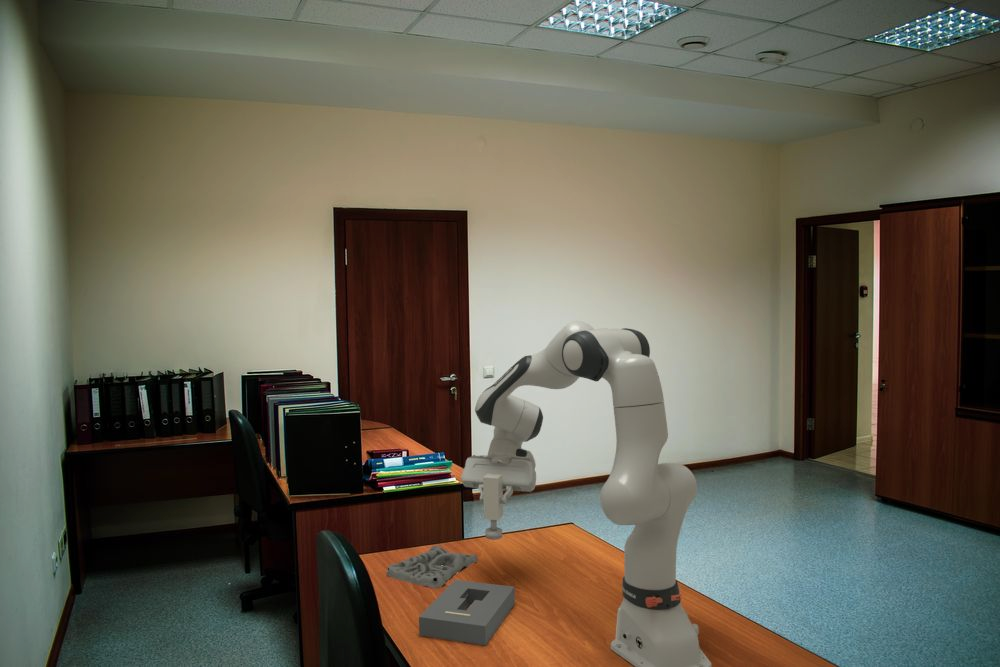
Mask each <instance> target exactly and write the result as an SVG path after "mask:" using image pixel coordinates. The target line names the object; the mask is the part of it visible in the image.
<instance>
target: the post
mask: <svg viewBox="0 0 1000 667" xmlns="http://www.w3.org/2000/svg"><path fill="white" fill-rule="evenodd" d="M502 481H503V475H502V474H487V475H486V476H484V477H483V499H484V502H483V520H488V521H489V520H490V527H488V528H486V529H485V530H484V531H485V538H486V540H487V539H488V540H493V541H495V540H500V539H502V538H503V529H502V528H501V527H498V522H497V521H500V519H501V518H503V516H504V504H500V502H499V499H500V495H504V490H503V485H502Z"/></svg>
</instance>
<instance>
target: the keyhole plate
mask: <svg viewBox="0 0 1000 667" xmlns="http://www.w3.org/2000/svg"><path fill="white" fill-rule="evenodd" d="M515 587H516V586H510V585H502V584H493V583H485V582H476V581H470V580H461V579H460V580H459V579H454V580H453V581H452V582H451V583H450V584H449V585H448V586H447V587H446V588H445V589H444V590H443V591H442V592H441V593H440V595H438V596H437V598H436V599H434V601H432V603H431V604H430V605H429V606H428V607H427V608H426V609H425V610H424V611H423V612H422V613H421V614H420V615H419V616H418V635H420V636H419V637H424V636H426V637H425V638H431V637H433V639H437V638H439V640H444V639H447V640H446V641H451V640H453V641H452V642H457V641H458V642H457V643H464V642H466V644H472V645H479V646H484V647H485V646H487V645H488V643H489V641H490V640H491V639H492V637H493V636H494V634H496V632H497V631H498V629H499V627H500V626H501V624H502V623H503V622H504V621H505V618H506V617H507V616H508V615H509V614H510V612H511V610H512V609H513V608H514V607H515V605H514V604H516V599H515V598H516V588H515ZM469 605H471V606H469ZM466 608H467V609H466ZM465 609H466V610H465Z"/></svg>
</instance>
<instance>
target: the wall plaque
mask: <svg viewBox="0 0 1000 667" xmlns="http://www.w3.org/2000/svg"><path fill="white" fill-rule="evenodd" d="M478 560H479V558H478V556H477V555H476V554H474V553H472V554H465V553H460V552H459V553H458V552H454V551H453V552H450V551H449V552H448V551H447V550H446V549H445V548H444V547H442V546H440V545H433V546H431V547H430V548H429V549H428V551H424V552H421V553H419V554H417V555H415V556H410V557H408V558H406V559H404V560H402V561H400V562H398V563H397V562H396V563H392V564H389V565H388V567H387V570H386V574H385V575H386V576H387V577H389V578H392V579H395V580H399V581H402V582H404V583H405V582H406V583H410V584H412V585H417V584H418V585H417V586H420V585H422V587H427V588H429V587H431V588H430V589H439V588H438V587H441V588H442V587H444V585H446V583H447V582H448V580H449V579H450V580H451V578H452V577H453V576H454V575H457V574H458V573H460V572H459V571H461V570H462V569H464V568H468V567H470V566H471V565H473V564H472V563H474V564H476V563H475V562H477V561H478ZM477 563H478V562H477ZM470 564H471V565H470ZM441 565H443V566H441ZM469 565H470V566H469ZM467 566H468V567H467ZM457 572H458V573H457ZM456 573H457V574H456ZM434 579H436V581H435V580H434ZM450 580H449V581H450ZM446 581H447V582H446Z"/></svg>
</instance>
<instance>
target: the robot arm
mask: <svg viewBox="0 0 1000 667" xmlns="http://www.w3.org/2000/svg"><path fill="white" fill-rule="evenodd" d="M650 353H651V348H650V344H649V341H648V339H647V337H646V335H644V333H642V332H641V331H639V330H636V329H633V328H626V327H625V328H608V327H607V328H605V327H603V328H596V329H595V328H594V327H593V326H591V325H590V324H589V323H587V322H584V321H578V320H575V321H571V322H569V323H567V324H566V325H565V326H564V327H563V328H561V330H560V331H558V332H557V333H556V334H555V336H554V337H553V338H552V339H551V341H550V342H549V343H548V345H547V346H546V347H545V348H544V349H542V350H541V351H539V352H537V353H534V354H532V355H529V354H528V355H525V356H523V357H521V358H520V359H519V360H518V361H517V362H515V363H514V364H513V365H512V366H511V367H510V368H509V369H508V370H507V371H506V372H505V373H503V375H501V377H499V379H497V380H496V381H495V382H494V383H493V384H492V385H490V386H489V387H487V388H486V389H485V390H484V391H483V392H482V393H481V394H480V396H478V399H477V400H476V404H475V408H474V411H475V414H476V417H477V419H478V420H479V422H480V424H481V423H482V424H484V425H488V426H492V427H494V428H493V437H492V440H491V441H490V444H489V448H488V451H487V455H477V454H474V455H471V456H469V457H467V459H466V460H465V464H464V467H463V470H462V472H461V475H460V481H461V483H462V484H463V486H464V487H465V488H473V489H474V488H476V489H478V491H479V494H480V495H479V501H480V503H484V499H483V477H484V476H486V475H487V474H502V475H503V481H502V485H503V491H505V493H503V495H500V499H499V502H500V504H503V505H507V502H508V499H509V498H510V497H511V496H512V495H513V493H514V491H517V492H530V493H531V492H533V491H534V490H535V488H536V485H537V484H536V483H537V472H536V470H535V469H536V460H535V457H534V455H533V453H532V452H531V451H530V450H527V449H525V448H522V445H523V443H524V442H525V443H526V442H529V441H530V440H533V439H535V438H536V437H537V436H538V435H539V434H540V432H541V429H542V426H543V420H544V415H543V411H542V409H541V407H540V406H538V405H536V404H534V403H532V402H530V401H528V400H525V399H523V398H520V397H517V396H514V395H512V393H513V392H514V391H516V390H517V388H520V387H524V386H533V387H540V388H545V389H551V390H562V389H566V388H569V387H570V386H572V385H573V384H574V383H576V382H577V381H578V379H579V378H582V379H588V380H590V381H593V382H599V381H600V380H601V379H604V380H605V381H606V382H607V383H608V384H609V387H610V389H611V394H612V395H611V396H612V406H613V415H614V424H615V436H616V439H615V440H616V444H615V445H616V449H615V453H614V454H615V455H614V459H613V465H612V468H611V471H610V474H609V476H608V478H607V480H606V481H605V483H604V484H603V486H601V490H600V494H599V501H600V506H601V510H602V512H603V513H604V515H605V516H606V518H607V519H608V520H609V521H610V522H611V523H612V524H615V525H618V526H634V527H633V530H632V531H631V533H630V534H629V535H628V537H627V538H626V540H625V543H624V556H623V558H624V563H623V564H624V568H623V569H624V574H623V575H624V576H623V577H622V584H621V589H622V590H621V591H622V597H623V599H622V602H621V604H620V606H619V607H618V609H617V614H616V626H615V627H616V628H615V639H613V640H612V641H611V642H610V650H611V651H613V652H614V653H615V654H617V655H618V656H620V657H621V658H623V659H624V660H626V661H627V662H629V664H630V665H632V666H634V667H712V666H713V665H712V662H711V660H709V658H708V657H707V655H706V654H705V653H704V652H703V650H702V649H701V648H700V642H699V636H698V635H699V634H700V628H699V626H698V625H699V624H697V623H692V622H691V620H690V618H689V615H688V611H687V610H685V609H684V607H683V605H682V603H681V601H682V597H681V596H683V595H682V593H680V592H681V591H680V587H679V582H678V580H677V548H678V542H679V538H680V533H681V530H682V525H683V524H684V520H685V517H686V514H687V512H688V510H689V508H690V506H691V505H692V503H693V501H694V500H696V499H695V498H696V497H697V493H698V484H697V479H696V477H695V475H694V474H693V472H692V471H691V469H689V468H688V467H687V466H686V465H683V464H681V463H671V462H668V463H666V462H665V463H663V462H662V463H659V459H660V455H661V452H662V450H663V447H664V446H665V445H666V443H667V441H668V438H669V431H668V430H669V429H668V424H667V423H668V422H667V414H666V407H665V406H666V405H665V400H664V392H663V388H662V383H661V378H660V376H659V375H660V374H659V372H658V369H657V366H656V363H655V361H654V360H653V359H652V358H650Z"/></svg>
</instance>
